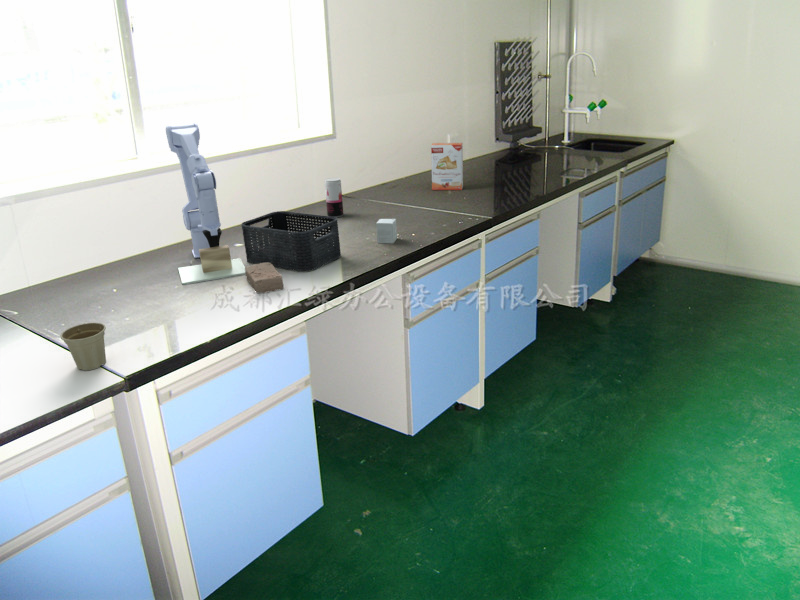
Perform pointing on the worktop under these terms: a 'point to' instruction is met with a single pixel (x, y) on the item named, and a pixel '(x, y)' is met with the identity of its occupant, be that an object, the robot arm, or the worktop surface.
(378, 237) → the product box
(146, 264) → the worktop surface
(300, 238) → the storage bin
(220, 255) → the slab
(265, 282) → the brick
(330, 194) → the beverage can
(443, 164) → the cracker box
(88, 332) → the flower pot
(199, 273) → the mat
